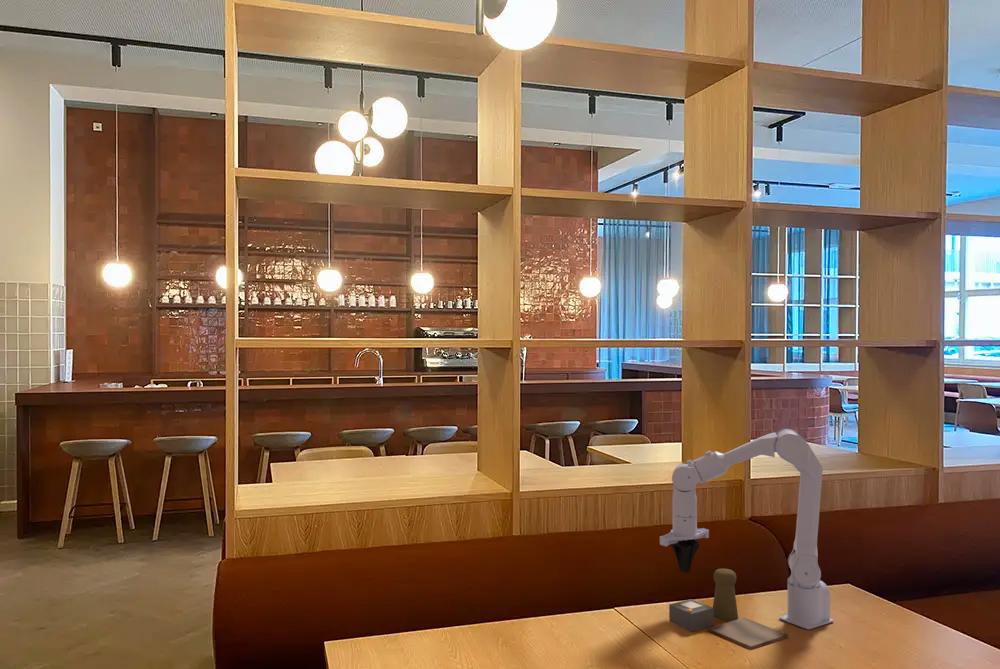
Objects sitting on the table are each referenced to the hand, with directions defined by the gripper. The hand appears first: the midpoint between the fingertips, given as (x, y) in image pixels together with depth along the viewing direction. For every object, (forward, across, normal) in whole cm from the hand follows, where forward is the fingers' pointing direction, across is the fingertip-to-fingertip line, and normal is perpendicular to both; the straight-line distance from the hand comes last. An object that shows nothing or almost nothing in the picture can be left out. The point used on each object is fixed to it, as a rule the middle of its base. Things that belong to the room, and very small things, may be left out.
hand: (684, 571), depth 185 cm
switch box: (+9, +5, +7) cm, 13 cm away
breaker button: (+8, +5, +7) cm, 12 cm away
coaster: (+9, -1, +18) cm, 20 cm away
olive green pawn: (+10, -5, +8) cm, 13 cm away
